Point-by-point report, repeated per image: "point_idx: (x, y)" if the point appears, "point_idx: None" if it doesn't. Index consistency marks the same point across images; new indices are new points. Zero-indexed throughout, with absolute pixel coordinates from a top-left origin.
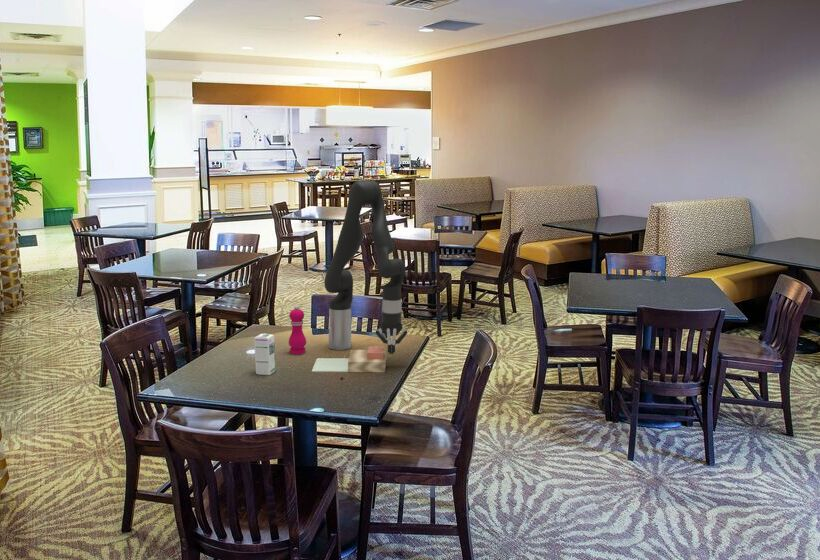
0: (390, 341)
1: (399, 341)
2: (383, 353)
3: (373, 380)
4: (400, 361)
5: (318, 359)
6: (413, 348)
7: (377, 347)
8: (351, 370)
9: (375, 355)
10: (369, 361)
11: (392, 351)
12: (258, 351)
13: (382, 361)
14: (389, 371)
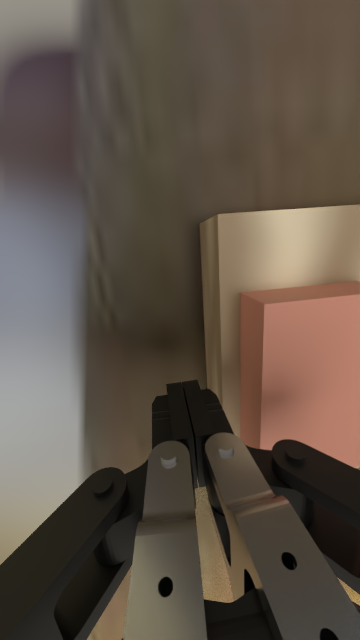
0: (218, 476)
1: (81, 500)
2: (239, 426)
3: (268, 16)
4: (132, 429)
5: None
6: None
7: None
8: None
9: (316, 293)
10: (344, 224)
11: (174, 394)
12: None
13: (240, 236)
14: (173, 247)
